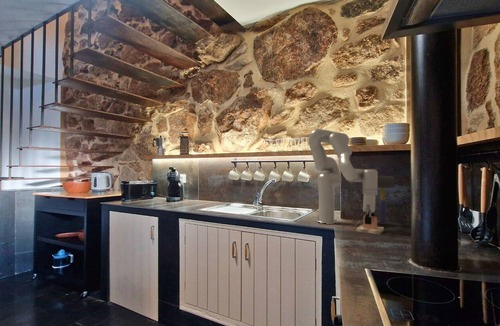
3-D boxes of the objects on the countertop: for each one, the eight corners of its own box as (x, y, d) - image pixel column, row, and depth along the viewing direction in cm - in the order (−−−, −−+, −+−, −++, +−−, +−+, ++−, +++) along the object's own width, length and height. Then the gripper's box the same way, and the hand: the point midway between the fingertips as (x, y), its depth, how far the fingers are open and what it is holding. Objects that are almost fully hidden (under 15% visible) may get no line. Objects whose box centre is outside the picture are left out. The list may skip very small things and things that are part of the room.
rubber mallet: (393, 223, 162) (393, 175, 163) (395, 226, 155) (395, 175, 156) (371, 222, 167) (371, 175, 167) (372, 224, 160) (372, 175, 160)
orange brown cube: (363, 228, 143) (363, 217, 143) (365, 226, 148) (365, 215, 148) (375, 229, 140) (375, 218, 140) (377, 227, 145) (377, 216, 145)
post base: (356, 231, 143) (356, 219, 143) (361, 227, 152) (361, 215, 152) (380, 234, 136) (380, 221, 136) (383, 230, 145) (383, 218, 145)
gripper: (366, 190, 154) (365, 219, 153) (359, 192, 140) (358, 224, 139) (380, 191, 149) (379, 220, 149) (374, 193, 135) (374, 226, 135)
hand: (369, 222), depth 144 cm, fingers open, 9 cm apart
